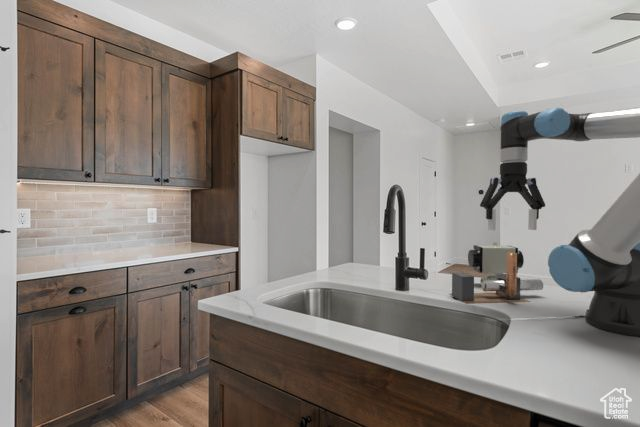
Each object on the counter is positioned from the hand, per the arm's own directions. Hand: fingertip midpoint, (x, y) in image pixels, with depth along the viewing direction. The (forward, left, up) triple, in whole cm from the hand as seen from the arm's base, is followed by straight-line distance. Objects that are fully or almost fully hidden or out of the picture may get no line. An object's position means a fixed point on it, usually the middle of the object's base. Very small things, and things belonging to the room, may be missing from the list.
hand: (512, 229), depth 110 cm
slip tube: (+4, -5, -21) cm, 22 cm away
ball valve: (+23, -9, -24) cm, 35 cm away
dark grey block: (+7, +12, -23) cm, 27 cm away
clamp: (+7, -4, -23) cm, 25 cm away
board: (+7, +3, -24) cm, 25 cm away
